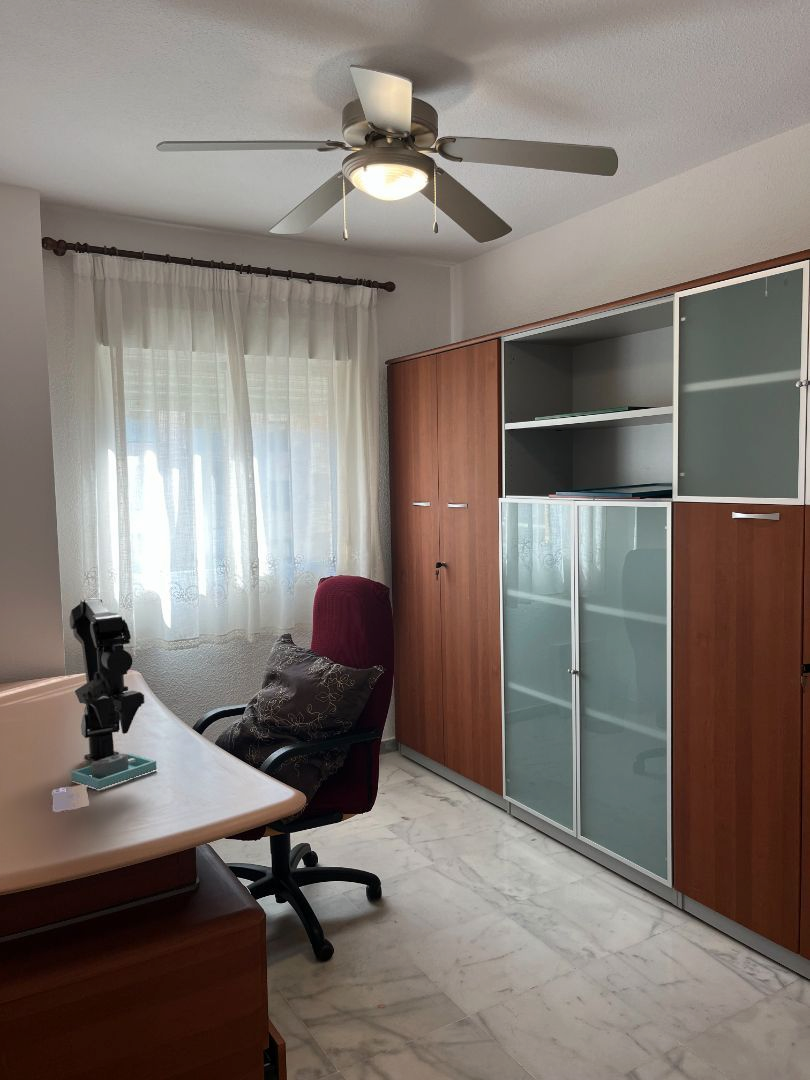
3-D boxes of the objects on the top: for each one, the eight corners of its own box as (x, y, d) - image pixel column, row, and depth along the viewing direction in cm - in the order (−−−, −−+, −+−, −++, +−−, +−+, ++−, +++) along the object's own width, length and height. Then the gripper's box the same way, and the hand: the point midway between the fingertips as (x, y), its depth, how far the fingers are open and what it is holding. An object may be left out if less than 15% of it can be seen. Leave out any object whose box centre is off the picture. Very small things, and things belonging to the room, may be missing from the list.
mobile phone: (52, 810, 170) (51, 788, 183) (52, 815, 170) (51, 792, 183) (90, 803, 173) (86, 782, 186) (90, 808, 173) (86, 786, 186)
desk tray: (71, 782, 188) (71, 771, 188) (129, 762, 201) (128, 753, 201) (98, 791, 181) (98, 780, 181) (156, 771, 194) (156, 761, 194)
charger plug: (98, 783, 186) (97, 766, 185) (89, 779, 188) (87, 763, 188) (139, 769, 194) (138, 753, 194) (129, 766, 197) (128, 750, 196)
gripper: (58, 669, 190) (63, 732, 191) (100, 678, 179) (105, 746, 180) (101, 660, 199) (105, 721, 200) (143, 668, 188) (147, 733, 189)
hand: (114, 730), depth 192 cm, fingers open, 9 cm apart
